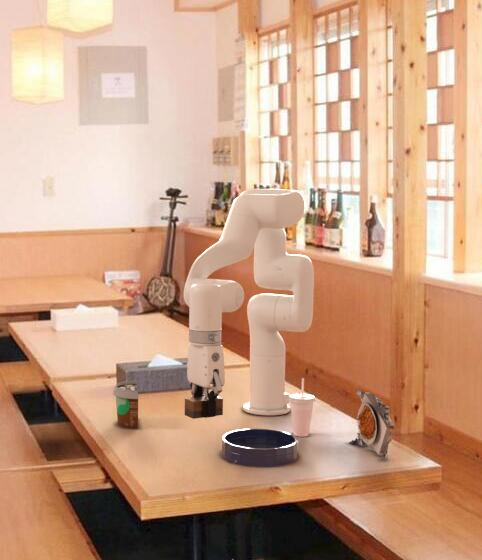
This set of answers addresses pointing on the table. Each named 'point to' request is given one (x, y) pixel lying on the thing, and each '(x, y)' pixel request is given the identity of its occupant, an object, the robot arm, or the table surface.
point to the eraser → (200, 407)
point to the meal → (373, 424)
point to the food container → (127, 404)
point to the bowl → (259, 447)
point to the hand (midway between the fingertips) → (203, 413)
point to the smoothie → (301, 412)
